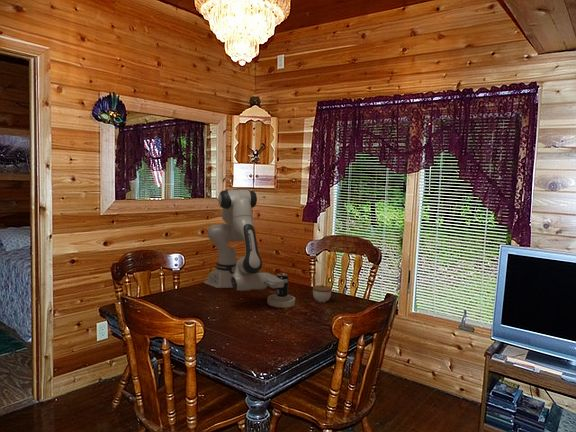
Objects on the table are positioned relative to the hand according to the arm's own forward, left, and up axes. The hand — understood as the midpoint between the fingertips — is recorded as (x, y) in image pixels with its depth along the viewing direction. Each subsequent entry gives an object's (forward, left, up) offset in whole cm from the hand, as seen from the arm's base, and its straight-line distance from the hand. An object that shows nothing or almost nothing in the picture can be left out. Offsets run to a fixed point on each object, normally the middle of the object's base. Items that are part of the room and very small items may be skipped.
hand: (283, 279), depth 231 cm
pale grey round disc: (0, -1, -14) cm, 14 cm away
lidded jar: (+14, +19, -14) cm, 27 cm away
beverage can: (0, -1, -9) cm, 10 cm away
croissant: (-28, +26, -14) cm, 40 cm away
